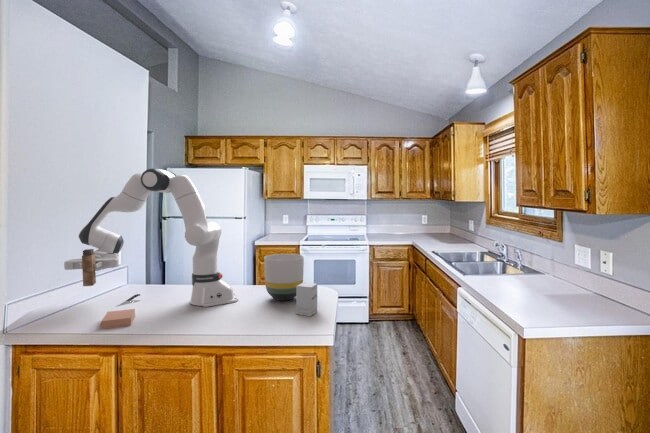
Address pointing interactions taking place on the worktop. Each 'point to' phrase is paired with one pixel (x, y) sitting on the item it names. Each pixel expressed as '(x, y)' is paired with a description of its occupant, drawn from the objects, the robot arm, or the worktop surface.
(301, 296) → the supplement box
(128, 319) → the tile
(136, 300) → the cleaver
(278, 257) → the planter
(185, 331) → the worktop surface
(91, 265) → the brown pepper mill
